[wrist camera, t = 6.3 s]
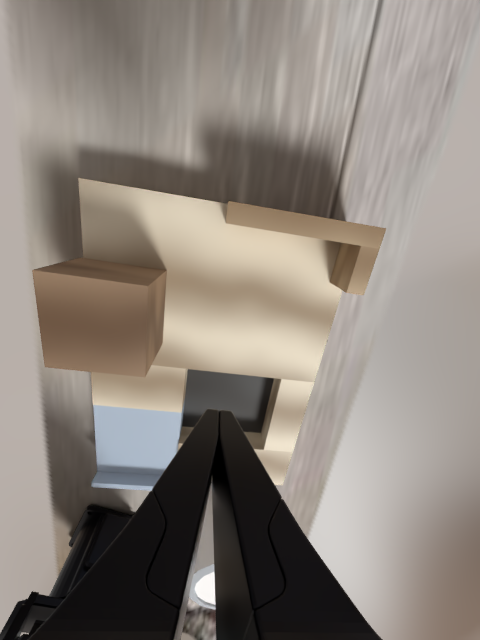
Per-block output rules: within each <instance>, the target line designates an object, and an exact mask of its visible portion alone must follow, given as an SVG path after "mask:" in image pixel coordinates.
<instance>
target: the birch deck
mask: <svg viewBox="0 0 480 640" xmlns="http://www.w3.org/2000/svg"><path fill="white" fill-rule="evenodd" d="M78 181H79V197H80V214H81V230H82V247H83V258H87V259H93V260H100V261H107V262H114V263H121V264H128V265H134V266H141V267H148V268H155V269H162V270H167V276H166V293H165V311H164V328H163V344H162V346H161V348H160V350H159V352H158V354H157V355H156V357H155V359H154V361H153V363H152V365H151V367H150V369H149V371H148V373H147V375H146V377H136V376H126V375H116V374H107V373H97V372H91V383H92V400H93V405H100V406H111V407H123V408H134V409H145V410H156V411H167V412H179V413H182V409H183V404H184V413H183V423H182V430H181V434H180V439H179V444H178V450H179V449H180V447H181V446H182V444H183V443H184V441H185V440H186V438H187V437H188V436H189V434H190V433H191V431H192V430H193V428H194V427H195V425H196V424H197V422H198V421H199V419H200V418H201V416H202V415H203V414H204V412H205V411H206V409H217V410H219V411H220V410H229V411H232V412H233V414H234V416H235V418H236V419H237V421H238V423H239V424H240V426H241V428H242V430H243V431H244V433H245V435H246V437H247V438H248V440H249V442H250V443H251V445H252V447H253V449H254V450H255V452H256V454H257V455H258V457H259V459H260V461H261V462H262V464H263V466H264V467H265V469H266V471H267V473H268V474H269V476H270V478H271V479H272V481H273V483H274V485H283V482H284V479H285V476H286V473H287V469H288V466H289V463H290V460H291V456H292V453H293V450H294V447H295V443H296V440H297V437H298V434H299V430H300V427H301V424H302V421H303V417H304V414H305V411H306V408H307V404H308V401H309V398H310V395H311V391H312V388H313V385H314V382H315V378H316V375H317V372H318V369H319V365H320V362H321V359H322V355H323V352H324V349H325V346H326V342H327V339H328V336H329V333H330V329H331V326H332V323H333V320H334V316H335V313H336V310H337V307H338V303H339V300H340V297H341V294H342V290H343V291H344V292H346V293H352V294H358V295H364V293H365V290H366V287H367V284H368V281H369V278H370V275H371V272H372V269H373V266H374V263H375V260H376V257H377V255H378V252H379V249H380V246H381V243H382V240H383V237H384V234H385V231H386V228H380V227H375V226H369V225H363V224H357V223H352V222H346V221H340V220H335V219H329V218H323V217H317V216H312V215H306V214H300V213H295V212H289V211H283V210H278V209H272V208H266V207H260V206H255V205H249V204H243V203H238V202H232V201H228V204H226V203H220V202H214V201H208V200H203V199H197V198H191V197H185V196H180V195H174V194H168V193H163V192H157V191H151V190H145V189H140V188H134V187H128V186H122V185H117V184H111V183H105V182H99V181H94V180H88V179H82V178H78ZM184 400H185V402H184Z"/></svg>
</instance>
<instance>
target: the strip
mask: <svg viewBox="0 0 480 640" xmlns="http://www.w3.org/2000/svg"><path fill="white" fill-rule="evenodd" d="M184 402H185V400H184ZM93 407H94V424H95V441H96V459H97V473H96V475H95V477H94V479H93V481H92V483H91V484H92V487H99V488H116V489H133V490H150V491H152V488H153V487H154V485H155V484H156V482H157V481H158V480H159V478H160V477H161V475H162V474H163V472H164V471H165V469H166V468H167V466H168V465H169V463H170V462H171V460H172V459H173V458H174V456H175V455H176V453H177V452H178V444H179V439H180V434H181V430H182V423H183V413H184V404H183V409H182V413H179V412H167V411H156V410H145V409H134V408H123V407H111V406H100V405H93Z"/></svg>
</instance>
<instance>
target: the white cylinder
mask: <svg viewBox="0 0 480 640" xmlns="http://www.w3.org/2000/svg"><path fill="white" fill-rule="evenodd" d="M189 597H190V599H192V600H193V601H194V602H196V603H197V604H199V605H200V606H204V607H207V608H211V609H214V610H216V607H215V575H214V543H213V510H212V484H211V487H210V492H209V498H208V503H207V508H206V513H205V518H204V523H203V528H202V533H201V538H200V543H199V548H198V553H197V558H196V564H195V569H194V574H193V579H192V584H191V589H190V594H189Z"/></svg>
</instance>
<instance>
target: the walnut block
mask: <svg viewBox="0 0 480 640" xmlns="http://www.w3.org/2000/svg"><path fill="white" fill-rule="evenodd" d="M32 272H33V279H34V287H35V295H36V302H37V310H38V318H39V326H40V333H41V341H42V349H43V356H44V364H45V367H49V368H59V369H68V370H78V371H87V372H97V373H107V374H116V375H126V376H136V377H146V375H147V373H148V371H149V369H150V367H151V365H152V363H153V361H154V359H155V357H156V355H157V354H158V352H159V350H160V348H161V346H162V344H163V328H164V311H165V293H166V276H167V270H162V269H155V268H148V267H141V266H134V265H128V264H121V263H114V262H107V261H100V260H93V259H87V258H77V259H73V260H69V261H65V262H61V263H57V264H54V265H50V266H46V267H42V268H38V269H34V270H32Z"/></svg>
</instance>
